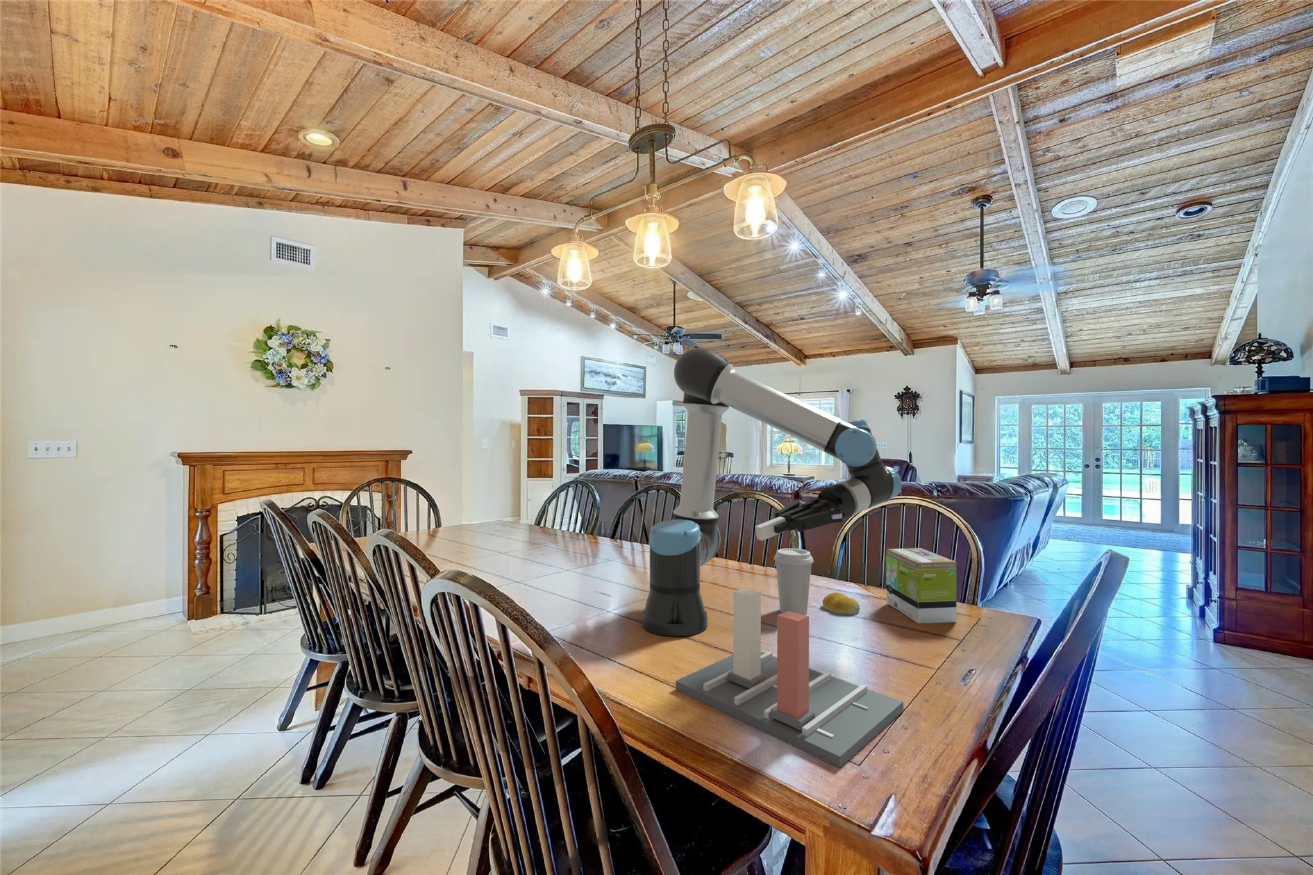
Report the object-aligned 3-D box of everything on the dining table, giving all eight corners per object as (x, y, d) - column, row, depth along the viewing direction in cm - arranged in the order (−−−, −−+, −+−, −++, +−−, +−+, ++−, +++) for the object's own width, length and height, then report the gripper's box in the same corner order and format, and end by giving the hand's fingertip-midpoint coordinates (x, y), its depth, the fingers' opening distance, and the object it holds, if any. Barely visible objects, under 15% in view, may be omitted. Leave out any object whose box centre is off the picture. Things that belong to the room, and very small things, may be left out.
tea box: (884, 604, 139) (884, 547, 139) (921, 603, 140) (921, 547, 140) (917, 624, 124) (917, 561, 124) (958, 623, 125) (958, 560, 125)
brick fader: (770, 716, 79) (771, 614, 79) (785, 707, 82) (785, 608, 82) (800, 730, 75) (801, 623, 75) (815, 719, 78) (815, 616, 78)
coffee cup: (815, 619, 127) (815, 556, 127) (774, 616, 129) (774, 554, 129) (811, 607, 136) (811, 548, 136) (773, 604, 138) (773, 546, 138)
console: (675, 689, 92) (675, 674, 92) (748, 654, 106) (748, 642, 106) (839, 767, 70) (839, 748, 70) (903, 710, 85) (903, 695, 85)
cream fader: (728, 679, 91) (728, 591, 91) (742, 672, 94) (742, 586, 94) (752, 689, 88) (752, 597, 88) (766, 681, 90) (766, 592, 90)
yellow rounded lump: (840, 617, 129) (840, 601, 129) (817, 606, 137) (817, 591, 137) (867, 613, 132) (868, 597, 132) (843, 603, 140) (843, 588, 140)
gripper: (869, 522, 110) (783, 560, 100) (822, 510, 122) (740, 543, 111) (865, 487, 109) (778, 522, 98) (818, 479, 120) (735, 509, 110)
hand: (758, 533), depth 105 cm, fingers closed
